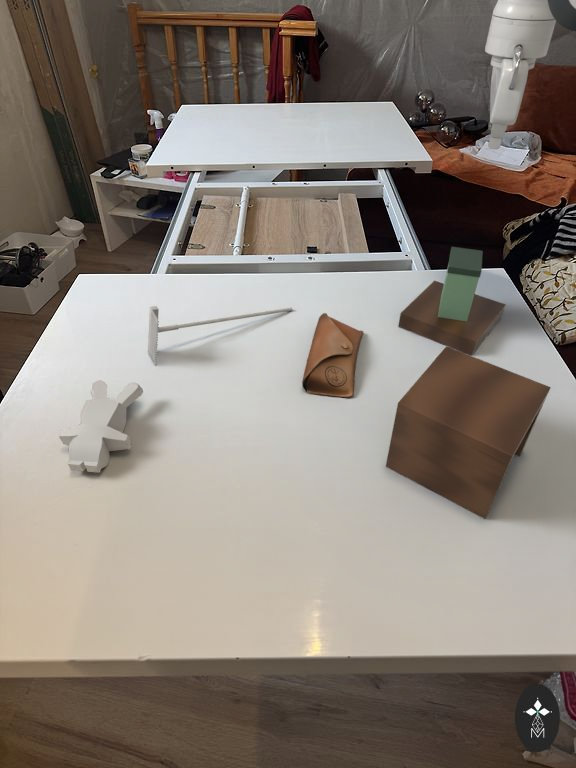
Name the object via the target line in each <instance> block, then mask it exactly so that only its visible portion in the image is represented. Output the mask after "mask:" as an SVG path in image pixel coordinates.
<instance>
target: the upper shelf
mask: <svg viewBox="0 0 576 768" xmlns="http://www.w3.org/2000/svg"><path fill="white" fill-rule="evenodd" d="M551 389H552V388H551V386H549V385H547V384H543V383H541V382H539V381H536V380H534V379H531V378H528V377H525V376H523V375H521V374H518V373H516V372H513V371H511V370H508V369H505V368H503V367H500V366H499V365H495V364H492V363H490V362H488V361H485V360H483V359H481V358H477V357H475V356H473V355H472V356H471V355H469V354H466V353H464V352H461V351H459V350H456V349H453V348H451V347H448V346H446V345H445V347H444V348H443V349H442V351H440V353H439V354H438V355H437V357H436V358H434V360H433V361H432V362H431V364H430V365H429V366H428V367H427V368H426V369H425V371H424V372H423V373H422V374H421V375H420V376H419V377H418V379H417V380H416V381H415V382H414V383H413V385H412V386H411V387H410V388H409V389H408V390H407V392H406V393H405V394H404V395H403V397H401V398H400V400H399V401H398V402H397V406H396V411H395V416H394V420H393V426H392V431H391V437H390V441H389V447H388V452H387V458H386V463H385V468H388V469H390V470H391V471H394V472H395V473H397V474H399V475H401V476H403V477H405V478H406V479H409V480H410V481H412V482H414V483H416V484H418V485H419V486H422V487H423V488H425V489H428V490H429V491H431V492H433V493H434V494H437V495H438V496H441V497H442V498H444V499H446V500H448V501H450V502H452V503H454V504H456V505H457V506H459V507H461V508H463V509H465V510H466V511H469V512H471V513H473V514H474V515H477V516H479V517H480V518H482V519H484V520H485V519H486V518H487V517H488V515H489V513H490V511H491V509H492V507H493V504H494V502H495V499H496V497H497V495H498V492H499V490H500V488H501V485H502V483H503V481H504V478H505V476H506V474H507V472H508V469H509V467H510V465H511V462H512V460H513V459H514V456H516V457H521V455H522V453H523V451H524V449H525V446H526V444H527V442H528V440H529V437H530V435H531V433H532V431H533V428H534V426H535V425H536V422H537V420H538V418H539V415H540V414H541V411H542V408H543V406H544V404H545V402H546V400H547V397H548V395H549V393H550V390H551Z"/></svg>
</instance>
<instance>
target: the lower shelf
mask: <svg viewBox="0 0 576 768" xmlns="http://www.w3.org/2000/svg"><path fill="white" fill-rule="evenodd" d="M443 285H444V282H440V281H437V280H433V281H432V282H431V283H430V284H429V285H428V286H427V287H426V288H425V289H424V290H423V291H422V292H421V293H419V294H418V296H417V297H416V298H414V300H413V301H411V302H410V303H409V304H408V305H406V307H405V308H404V309H403V310H402V311H401V312H400V314H399V319H398V325H397V328H400V329H402V330H405V331H408V332H410V333H413V334H415V335H418V336H421V337H423V338H426V339H428V340H431V341H432V342H433V341H434V342H436V343H438V344H441V345H443V346H445V347H446V346H447V347H450V348H452V349H455V350H457V351H460V352H462V353H465V354H467V355H470V356H472V357H473V355H474V354H475V352H476V351H477V350H478V348H479V347H480V346H481V345H482V343H483V342H484V340H485V339H487V337H488V335H489V334H490V333H491V332H492V331H493V330H494V328H495V326H496V325H497V324H498V323H499V322H500V320H501V319H502V318H503V314H504V310H505V308H506V304H505V303H503V302H499V301H497V300H493V299H490V298H489V297H488V298H487V297H485V296H482V295H479V294H476V293H475V294H474V298H473V302H472V305H471V309H470V313H469V316H468V320H467V322H466V321H460V320H454V319H448V318H442V317H438V312H439V306H440V300H441V294H442V290H443Z"/></svg>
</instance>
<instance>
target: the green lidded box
mask: <svg viewBox="0 0 576 768" xmlns="http://www.w3.org/2000/svg"><path fill="white" fill-rule="evenodd" d="M483 252H484V251H483V250H479V249H471V248H464V247H459V246H458V247H457V246H451V247H450V251H449V259H448V264H447V268H446V271H445V272H446V273H445V276H444V281H443V283H444V285H443V290H442V294H441V300H440V306H439V312H438V317H442V318H448V319H454V320H460V321H466V322H467V320H468V316H469V313H470V309H471V305H472V302H473V298H474V294H476V290H477V286H478V283H479V279H480V278H481V275H482V269H483Z"/></svg>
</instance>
